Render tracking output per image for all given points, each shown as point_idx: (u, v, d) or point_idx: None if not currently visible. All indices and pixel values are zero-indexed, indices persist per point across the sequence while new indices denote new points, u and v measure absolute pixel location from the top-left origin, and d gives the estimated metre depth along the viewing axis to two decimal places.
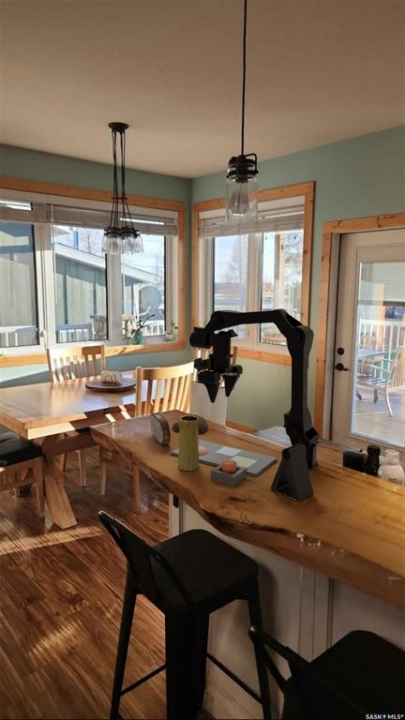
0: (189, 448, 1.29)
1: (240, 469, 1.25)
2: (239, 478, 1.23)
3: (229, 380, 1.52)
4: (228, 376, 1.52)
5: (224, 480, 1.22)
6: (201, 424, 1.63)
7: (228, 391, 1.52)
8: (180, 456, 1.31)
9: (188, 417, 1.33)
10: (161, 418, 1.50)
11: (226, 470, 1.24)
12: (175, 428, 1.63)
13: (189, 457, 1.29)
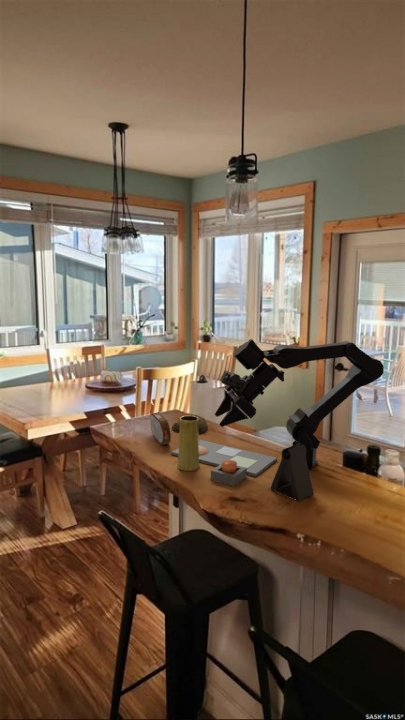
0: (189, 448, 1.29)
1: (240, 469, 1.25)
2: (239, 478, 1.23)
3: (229, 403, 1.36)
4: (231, 399, 1.36)
5: (224, 480, 1.22)
6: (201, 424, 1.63)
7: (220, 412, 1.36)
8: (180, 456, 1.31)
9: (188, 417, 1.33)
10: (161, 418, 1.50)
11: (226, 470, 1.24)
12: (175, 428, 1.63)
13: (189, 457, 1.29)
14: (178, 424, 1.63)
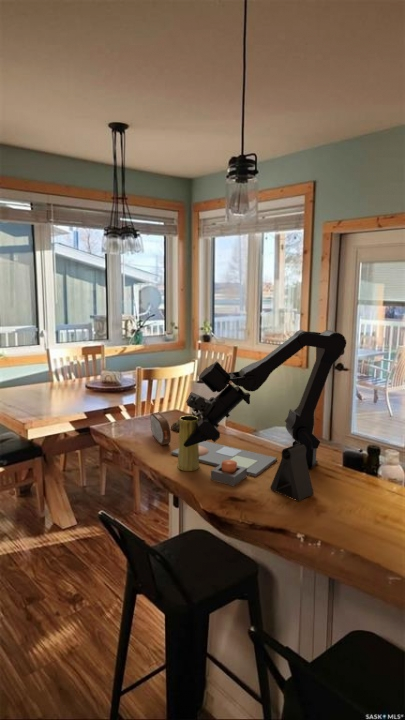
0: (189, 448, 1.29)
1: (240, 469, 1.25)
2: (239, 478, 1.23)
3: None
4: None
5: (224, 480, 1.22)
6: None
7: None
8: (180, 456, 1.31)
9: (188, 417, 1.33)
10: (161, 418, 1.50)
11: (226, 470, 1.24)
12: (174, 428, 1.63)
13: (189, 457, 1.29)
14: (177, 424, 1.63)
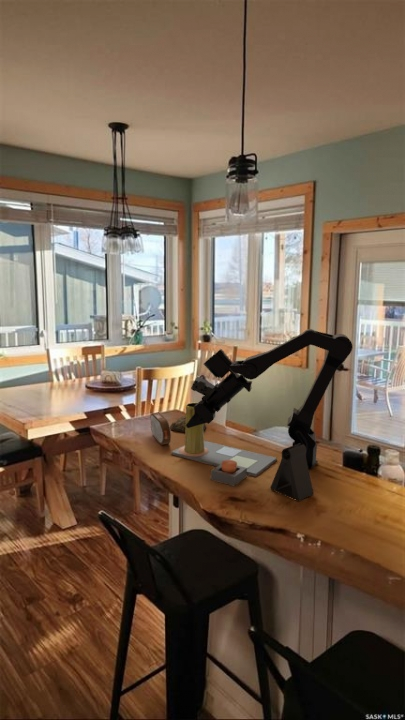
0: (192, 432, 1.39)
1: (240, 469, 1.25)
2: (239, 478, 1.23)
3: None
4: None
5: (224, 480, 1.22)
6: None
7: None
8: (185, 439, 1.41)
9: None
10: (161, 418, 1.50)
11: (226, 470, 1.24)
12: (173, 428, 1.63)
13: (192, 441, 1.39)
14: (176, 424, 1.63)
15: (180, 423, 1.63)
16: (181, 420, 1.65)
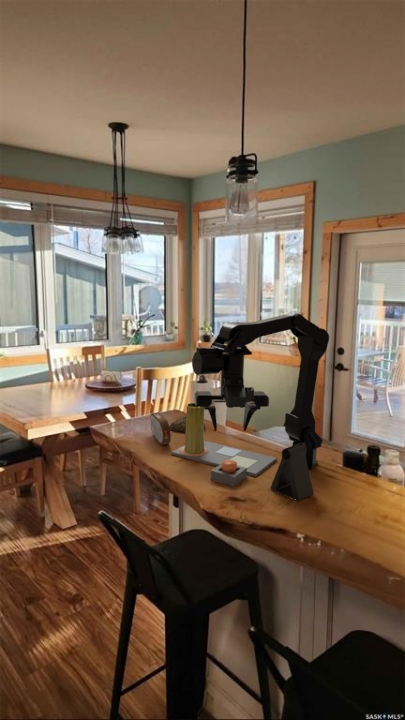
0: (193, 432, 1.39)
1: (240, 469, 1.25)
2: (239, 478, 1.23)
3: None
4: None
5: (224, 480, 1.22)
6: None
7: None
8: (186, 439, 1.42)
9: None
10: (161, 418, 1.50)
11: (226, 470, 1.24)
12: (172, 428, 1.64)
13: (192, 441, 1.40)
14: (175, 424, 1.64)
15: (179, 423, 1.63)
16: (181, 420, 1.65)
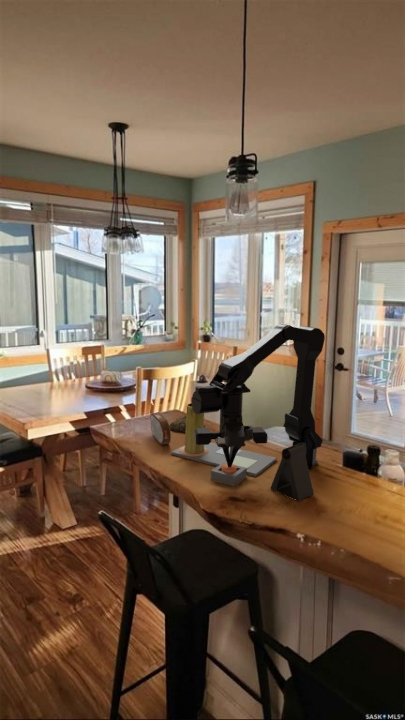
0: (193, 432, 1.39)
1: (240, 469, 1.25)
2: (239, 478, 1.23)
3: None
4: None
5: (224, 480, 1.22)
6: None
7: None
8: (186, 439, 1.41)
9: None
10: (161, 418, 1.50)
11: None
12: (172, 427, 1.64)
13: (192, 441, 1.40)
14: (175, 424, 1.64)
15: (179, 423, 1.63)
16: (180, 419, 1.65)
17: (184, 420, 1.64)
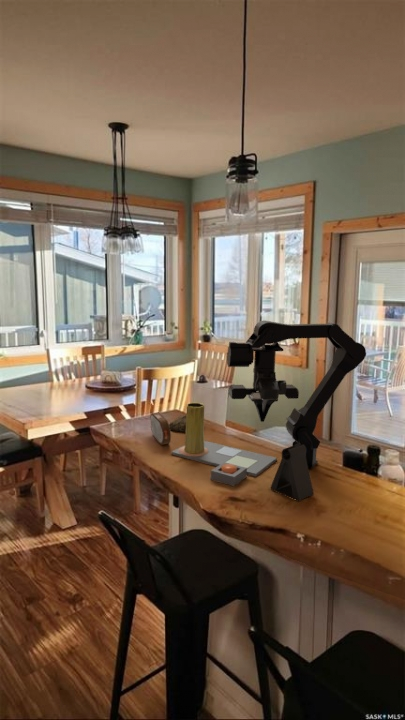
0: (193, 432, 1.39)
1: (240, 469, 1.25)
2: (239, 478, 1.23)
3: None
4: None
5: (224, 480, 1.22)
6: None
7: None
8: (186, 439, 1.41)
9: (197, 404, 1.43)
10: (161, 418, 1.50)
11: None
12: (171, 427, 1.64)
13: (192, 441, 1.40)
14: (174, 423, 1.64)
15: (178, 423, 1.64)
16: (179, 419, 1.65)
17: (183, 420, 1.64)
